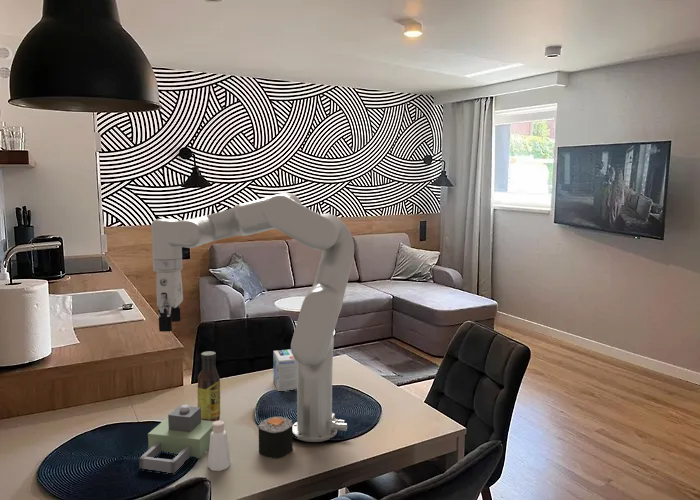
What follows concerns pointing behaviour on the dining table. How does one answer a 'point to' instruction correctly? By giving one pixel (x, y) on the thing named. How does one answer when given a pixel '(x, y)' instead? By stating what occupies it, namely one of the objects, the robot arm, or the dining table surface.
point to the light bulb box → (284, 370)
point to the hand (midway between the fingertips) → (170, 326)
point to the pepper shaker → (218, 448)
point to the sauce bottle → (209, 388)
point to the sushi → (275, 437)
